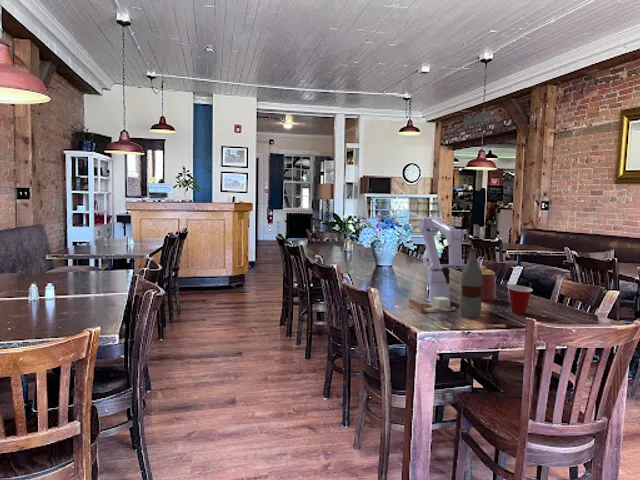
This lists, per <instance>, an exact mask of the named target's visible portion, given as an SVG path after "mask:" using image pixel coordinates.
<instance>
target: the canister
mask: <svg viewBox="0 0 640 480" xmlns="http://www.w3.org/2000/svg"><path fill="white" fill-rule="evenodd" d="M480 269H481V271H482V275H483V282H482V288H481V296H480V297H481V302H485V301H489V302H495V300H496V291H497V290H496V289H497V283H496V280H497V276H496V273H495V272H494V271H493V270H491V269H487V266H485V265H482V266H481V268H480Z"/></svg>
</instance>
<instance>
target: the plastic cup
mask: <svg viewBox="0 0 640 480" xmlns="http://www.w3.org/2000/svg"><path fill="white" fill-rule="evenodd" d="M507 289H508V293H509V295H508V296H509V303H510V304H509V305H510V311H511V313H512V312H513V313H512V314H515V313H516V315H525V314H526V311H527V307H528V304H529V300H530V296H531V294H532V292H533V290H534V289H533V288H531V287H529V286H528V287H527V286H524V285H517V284H513V285H512V284H511V285H507ZM524 313H525V314H524Z"/></svg>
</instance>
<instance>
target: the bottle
mask: <svg viewBox="0 0 640 480" xmlns="http://www.w3.org/2000/svg"><path fill="white" fill-rule="evenodd" d="M466 264H467V265H466V266H465V268H464V269H463V268H462V269H463V271H462V270H461V274H460V275H461V276H460V286H461V287H460V288H461V289H460V290H461V296H460V297H461V298H460V301H459V313H460V314H459V315H460V316H461V317H463V318H466V319H467V318H468V319H479V318H480V316H481V313H482V301H481V297H480V296H481V288H482V282H483V275H482V271H481V268H480V266H479V264H478V261H477V248H470V249H469V261H468V262H467V263H466Z"/></svg>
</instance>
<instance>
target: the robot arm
mask: <svg viewBox="0 0 640 480" xmlns="http://www.w3.org/2000/svg"><path fill="white" fill-rule="evenodd" d="M418 226H419V230H420V231H419V232H420V233H421V235H422V236H423V241H424V245H425V249H426V250H425V251H426V254H427V257H428V258H427V259H428V262H429V267H427V269H426V270H425V272H426V274H425V275H426V282H427V283H428V284H429V295H428V296H429V297H428V298H426V299H425V300H426V301H428V302H429V303H432V297H445V298H448V299H450V293H451V292H450V291H451V289H450V269H461V272H462V271H463V269H464V268H465V266H466V265H467V264H468V263H463V261H462V260H463V258H462V255H463V254H462V241H463V240H464V237H465V236H464V231H463V230H462V229H461V228H458V229H457V228H456V227H455V226H453V225H451V223H450V222H446V223H444V222H443V221H442V218H440V217H438V216H436V217H429V216H428V217H426V216H422V217H420V219H419V222H418ZM439 232H440V233H441V234H442V235H443V236H444V237H445V239H446V241H447V243H446V244H447V245H448V263H447V264H445V263H444V264H441V261H440V257H439V253H438V249H437V245H436V239H435V236H437V235H438V233H439Z"/></svg>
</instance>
